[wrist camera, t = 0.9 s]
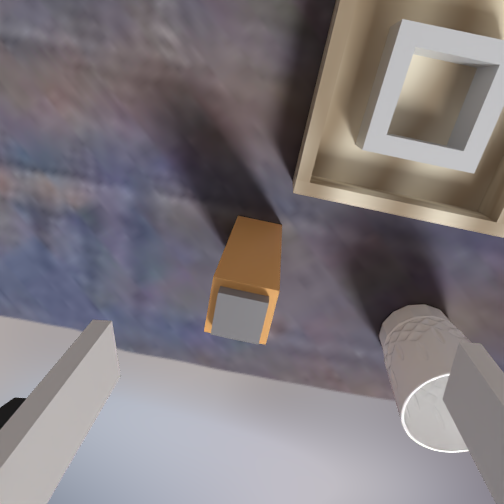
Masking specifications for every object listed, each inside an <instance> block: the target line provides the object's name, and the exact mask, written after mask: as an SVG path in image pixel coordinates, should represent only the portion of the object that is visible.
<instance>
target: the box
mask: <svg viewBox="0 0 504 504" xmlns="http://www.w3.org/2000/svg"><path fill="white" fill-rule="evenodd" d="M402 19H405V20H410V21H415V22H419V23H424V24H429V25H434V26H438V27H443V28H448V29H453V30H457V31H462V32H467V33H472V34H476V35H481V36H486V37H491V38H496V39H500V40H504V0H336V2H335V6H334V11H333V15H332V19H331V23H330V27H329V31H328V36H327V40H326V44H325V48H324V52H323V56H322V61H321V65H320V69H319V73H318V77H317V81H316V86H315V90H314V94H313V98H312V102H311V106H310V111H309V115H308V119H307V123H306V127H305V131H304V135H303V140H302V144H301V148H300V152H299V156H298V160H297V165H296V169H295V173H294V177H293V193H296V194H301V195H306V196H310V197H315V198H320V199H324V200H329V201H334V202H338V203H343V204H348V205H353V206H357V207H362V208H367V209H371V210H376V211H381V212H385V213H390V214H395V215H399V216H404V217H409V218H414V219H418V220H423V221H428V222H432V223H437V224H442V225H446V226H451V227H456V228H460V229H465V230H470V231H475V232H479V233H484V234H489V235H493V236H498V237H503V238H504V107H503V109H502V111H501V114H500V116H499V118H498V120H497V123H496V125H495V127H494V130H493V132H492V134H491V136H490V139H489V141H488V143H487V146H486V148H485V150H484V152H483V155H482V157H481V159H480V161H479V164H478V166H477V168H476V171H475V173H474V174H473V173H468V172H464V171H459V170H454V169H449V168H445V167H440V166H435V165H431V164H426V163H421V162H416V161H412V160H407V159H402V158H398V157H393V156H388V155H383V154H379V153H374V152H369V151H365V150H362V149H360V148H359V147H358V146H356V145H355V143H356V140H357V137H358V133H359V130H360V127H361V123H362V120H363V117H364V113H365V110H366V106H367V103H368V100H369V96H370V93H371V90H372V86H373V83H374V80H375V76H376V73H377V70H378V66H379V63H380V59H381V56H382V53H383V49H384V46H385V43H386V39H387V36H388V33H389V29H390V27H391V26H393V25H394V24H396V23H397V22H399V21H400V20H402ZM476 70H477V68H476V67H471V66H466V65H462V64H457V63H452V62H447V61H443V60H438V59H433V58H428V57H424V56H419V55H414V54H413V56H412V59H411V62H410V65H409V68H408V71H407V74H406V77H405V80H404V84H403V87H402V90H401V93H400V96H399V99H398V102H397V105H396V108H395V111H394V114H393V117H392V120H391V123H390V126H389V129H388V132H387V133H389V134H394V135H399V136H404V137H408V138H413V139H418V140H422V141H427V142H432V143H437V144H441V145H446V146H447V143H448V141H449V138H450V136H451V133H452V130H453V128H454V125H455V123H456V120H457V118H458V115H459V113H460V110H461V108H462V105H463V103H464V100H465V98H466V95H467V93H468V90H469V88H470V85H471V83H472V80H473V78H474V75H475V73H476Z"/></svg>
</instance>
